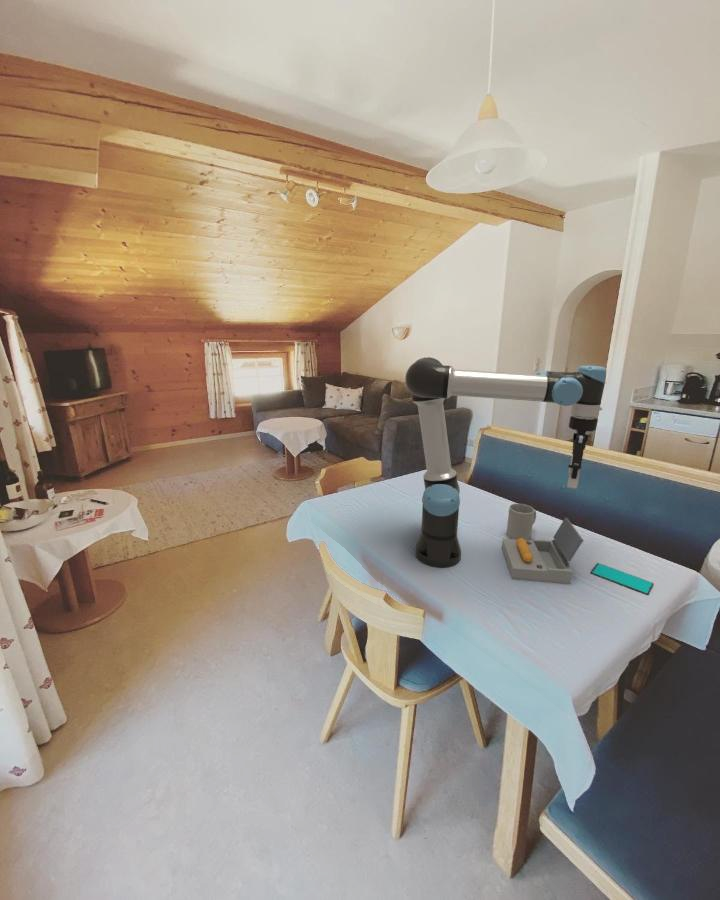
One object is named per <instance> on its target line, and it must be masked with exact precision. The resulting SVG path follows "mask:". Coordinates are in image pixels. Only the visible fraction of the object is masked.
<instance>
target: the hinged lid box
mask: <svg viewBox="0 0 720 900" xmlns="http://www.w3.org/2000/svg"><path fill="white" fill-rule="evenodd" d="M516 541H517V540H516V539H512V538H502V541H501V550H502V553H503V555H504V556H503V557H504V559H505V561H506V565H507V568H508V571H509V575H510V577H511V579H512V580H513V579H514V580H522V581H523V580H524V581H532V582H533V581H534V582H535V581H536V582H546V583H556V584H558V583H559V584H567V585H568V584H569V585H571V582H572V577H573V570H572V569H571V566H570V565H569V566H566V565H565V563H564V561H563V560H562V558H561V556H560V554H559V553H558V551H557V549H556V547H555V546H554V544H553V542H552V539H551V540H549V539H537V538H536V539H534V538H533V539H532V540H530V539H529V540H525V541H526V543H527V545H528V547H529V549H530V551H531V554H532V556H533V560H532V561H531V562H525V561H524V560H523V558H522V556H521V553H520V551H519V548H518V546H517V543H516Z"/></svg>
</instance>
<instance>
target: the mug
mask: <svg viewBox="0 0 720 900" xmlns="http://www.w3.org/2000/svg"><path fill="white" fill-rule="evenodd" d="M536 520H537V510H536V509H534V507H532V506H530V505H528V504H526V503H525V504H524V503H512V504H510V506H509V508H508V517H507V524H506V526H507V527H506V535H507V537H509V539H516V540H517V539H518V538H523V539H525V540H529V541H530V539H531V538H532V534H533V525H534V524H535V523H536Z"/></svg>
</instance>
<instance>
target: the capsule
mask: <svg viewBox="0 0 720 900" xmlns="http://www.w3.org/2000/svg"><path fill="white" fill-rule="evenodd" d="M516 543H517V546H518V548H519V551H520V553H521V556H522V558H523V560H524V561H525V562H531V561H532V560H533V556H532V554H531V551H530V549H529V547H528V545H527V543H526V541H525V539H523V538H518V539H517V541H516Z"/></svg>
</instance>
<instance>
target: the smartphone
mask: <svg viewBox="0 0 720 900" xmlns="http://www.w3.org/2000/svg"><path fill="white" fill-rule="evenodd" d="M590 574H591V575H593V576H595V577H598V578H601V579H603V580H607V581H609V582H611V583H614V584H617V585H619V586H621V587H625V588H627V589H629V590H632V591H634V592H636V593H640V594H643V595H645V596H649V594H650V593H649V592H651V591H650V590H652V588H653V587H652V586H654V582H653V581H652V582H651V581H649V580H646V579H644V578H640V577H638V576H636V575H632V574H629V573H626V572H624V571H623V570H622V571H621V570H619V569H616V568H613V567H610V566H607V565H605V564H601V563H600V562H599V563H598V562H597V563H596V564H595V565H594V567H593V568H592V569H591V571H590Z"/></svg>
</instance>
